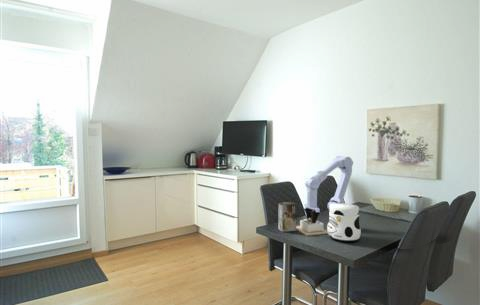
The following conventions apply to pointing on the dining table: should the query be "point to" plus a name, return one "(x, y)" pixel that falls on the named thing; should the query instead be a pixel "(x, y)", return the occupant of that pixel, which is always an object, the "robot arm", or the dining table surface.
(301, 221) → the butter dish
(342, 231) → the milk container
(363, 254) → the dining table surface
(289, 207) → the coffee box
